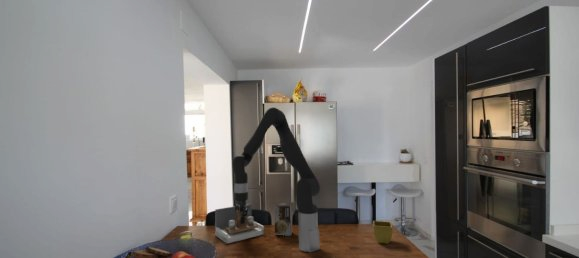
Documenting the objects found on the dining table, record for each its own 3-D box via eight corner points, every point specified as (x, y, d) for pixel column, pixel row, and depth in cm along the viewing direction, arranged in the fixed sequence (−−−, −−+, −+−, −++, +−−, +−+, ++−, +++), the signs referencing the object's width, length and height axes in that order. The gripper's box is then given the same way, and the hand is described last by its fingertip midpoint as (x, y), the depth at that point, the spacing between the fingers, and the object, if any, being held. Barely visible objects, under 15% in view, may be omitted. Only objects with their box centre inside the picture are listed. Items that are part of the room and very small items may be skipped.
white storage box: (263, 234, 143) (263, 208, 144) (226, 243, 130) (226, 215, 131) (250, 227, 156) (250, 203, 157) (215, 234, 143) (215, 209, 144)
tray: (257, 227, 144) (257, 208, 144) (230, 233, 134) (230, 213, 135) (251, 224, 150) (250, 206, 151) (224, 229, 141) (224, 210, 141)
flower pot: (391, 239, 133) (390, 221, 134) (393, 245, 125) (392, 227, 125) (373, 238, 136) (373, 220, 136) (374, 244, 127) (373, 225, 128)
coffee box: (292, 232, 147) (291, 203, 148) (290, 236, 140) (290, 205, 141) (276, 231, 147) (275, 203, 148) (274, 235, 141) (274, 205, 142)
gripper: (253, 192, 140) (253, 224, 139) (241, 188, 151) (241, 218, 150) (240, 193, 135) (240, 227, 134) (229, 190, 147) (229, 221, 146)
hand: (241, 222), depth 142 cm, fingers closed on tray, 3 cm apart
